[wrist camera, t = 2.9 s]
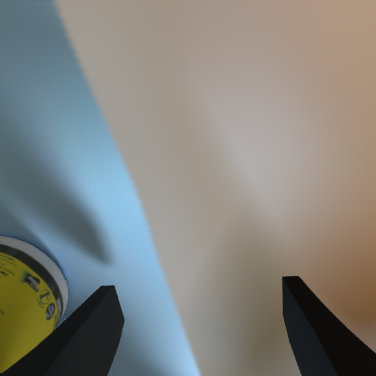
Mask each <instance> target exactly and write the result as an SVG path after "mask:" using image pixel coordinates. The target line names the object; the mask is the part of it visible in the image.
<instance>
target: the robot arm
mask: <svg viewBox="0 0 376 376" xmlns="http://www.w3.org/2000/svg"><path fill="white" fill-rule="evenodd" d="M282 290H283V317H284V322H285V326H286V330H287V334H288V338H289V341H290V344H291V347H292V350H293V353H294V356H295V359H296V361H297V364H298V367H299V370H300V372H301V375H302V376H376V353H375V352H374V351H372V350H371V349H370V348H369V347H368V346H367V345H365V344H364V343H363V342H362V341H361V340H360V339H359V338H358V337H356V335H354V334H353V333H352V332H351V331H350V330H349V329H348V328H347V327H346V326H345V325H344V324H343V323H342V322H341V321H340V320H339V319H338V318H337V317H336V316H335V315H334V314H333V313H332V312H331V311H330V310H329V309H328V308H327V307H326V306H325V305H324V304H323V303H322V302H321V301H320V300H319V299H318V297H316V295H315V294H314V293H313V292H312V291H311V290H310V289H309V287H308V286H307V285H306V284H305V283H304V282H303V280H302V279H301V278H300V277H299V276H287V277H282ZM124 321H125V320H124V316H123V313H122V310H121V306H120V303H119V300H118V296H117V293H116V290H115V286H114V285H111V286H101V287H100V288H99V289H97V290H96V291H95V292H94V293H93V294H92V295H91V296H90V297H89V298H88V299H87V300H86V301H85V302H84V303H83V304H82V305H81V306H80V307H79V308H78V309H77V310H76V311H74V312H73V313H72V314H71V315H70V316H69V317H68V318H67V319H66V320H65V321H64V322H63V323H62V324H61V325H60V326H59V327H57V328H56V329H55V330H54V331H53V332H52V333H51V334H50V335H48V336H47V337H46V338H45V339H44V340H43V341H42V342H40V343H39V344H38V345H37V346H36V347H35V348H33V349H32V350H31V351H30V352H29V353H27V354H26V355H25V356H23V357H22V358H21V359H20V360H18V361H17V362H16V363H14V364H13V365H12V366H11V367H9V368H8V369H7V370H5V371H4V372H2V373H1V374H0V376H107V375H108V372H109V370H110V367H111V364H112V362H113V359H114V356H115V353H116V351H117V348H118V345H119V341H120V338H121V334H122V329H123V325H124Z"/></svg>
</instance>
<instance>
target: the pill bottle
mask: <svg viewBox="0 0 376 376" xmlns="http://www.w3.org/2000/svg"><path fill="white" fill-rule="evenodd" d="M67 303H68V286H67V283H66V280H65V278H64V276H63V274H62V272H61V271H60V269H59V268H58V267H57V265H56V264H55V263H54V262H53V261H52V260H51V259H50V258H49V257H48V256H47V255H46V254H44V253H43V252H42V251H40V250H39V249H37V248H36V247H34V246H32V245H30V244H28V243H26V242H24V241H21V240H18V239H15V238H11V237H5V236H0V374H1V373H2V372H4V371H5V370H7V369H8V368H9V367H11V366H12V365H13V364H14V363H16V362H17V361H18V360H20V359H21V358H22V357H23V356H25V355H26V354H27V353H29V352H30V351H31V350H32V349H33V348H35V347H36V346H37V345H38V344H39V343H40V342H42V341H43V340H44V339H45V338H46V337H47V336H48V335H50V334H51V333H52V332H53V330H54V329H55V327H56V326H57V324H58V323H59V321H60V319H61V317H62V316H63V314H64V312H65V310H66V307H67Z"/></svg>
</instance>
